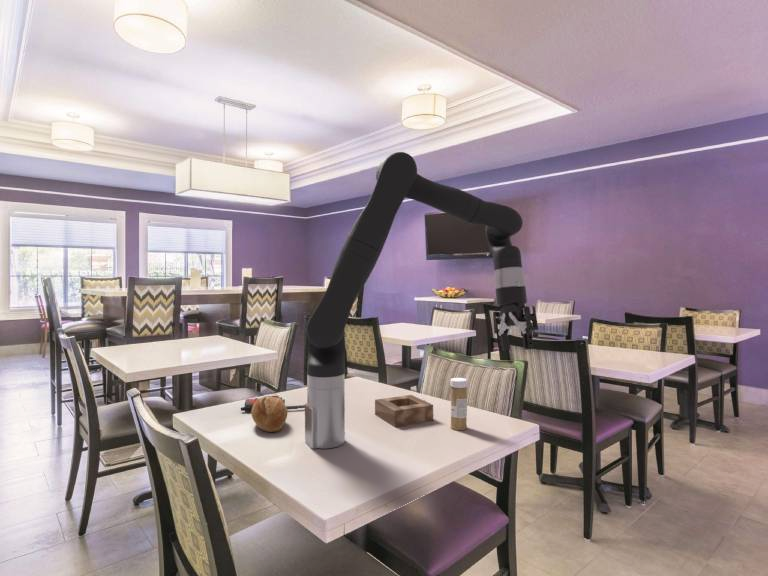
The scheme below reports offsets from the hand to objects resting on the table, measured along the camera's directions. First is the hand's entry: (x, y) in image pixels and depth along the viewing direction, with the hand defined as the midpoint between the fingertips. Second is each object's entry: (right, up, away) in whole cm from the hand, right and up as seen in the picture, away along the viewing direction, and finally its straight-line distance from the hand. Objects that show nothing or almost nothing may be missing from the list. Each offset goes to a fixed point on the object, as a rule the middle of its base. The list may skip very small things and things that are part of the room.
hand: (517, 349), depth 113 cm
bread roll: (-66, -23, +11) cm, 70 cm away
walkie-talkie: (-68, -23, +27) cm, 77 cm away
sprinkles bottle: (-13, -23, +9) cm, 28 cm away
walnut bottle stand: (-28, -23, +18) cm, 40 cm away
